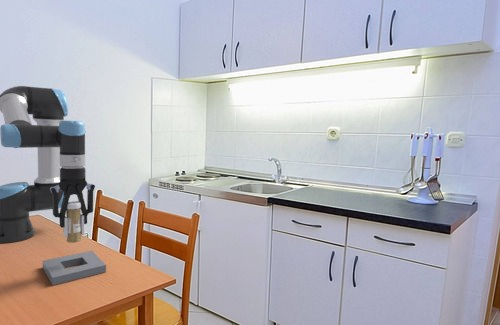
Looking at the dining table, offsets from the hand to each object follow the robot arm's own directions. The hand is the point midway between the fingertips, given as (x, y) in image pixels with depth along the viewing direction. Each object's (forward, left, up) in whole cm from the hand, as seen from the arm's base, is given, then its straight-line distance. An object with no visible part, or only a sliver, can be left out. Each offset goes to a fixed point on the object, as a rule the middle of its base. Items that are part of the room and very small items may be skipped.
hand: (73, 234), depth 111 cm
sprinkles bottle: (0, 0, -2) cm, 2 cm away
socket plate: (0, 0, -13) cm, 13 cm away
